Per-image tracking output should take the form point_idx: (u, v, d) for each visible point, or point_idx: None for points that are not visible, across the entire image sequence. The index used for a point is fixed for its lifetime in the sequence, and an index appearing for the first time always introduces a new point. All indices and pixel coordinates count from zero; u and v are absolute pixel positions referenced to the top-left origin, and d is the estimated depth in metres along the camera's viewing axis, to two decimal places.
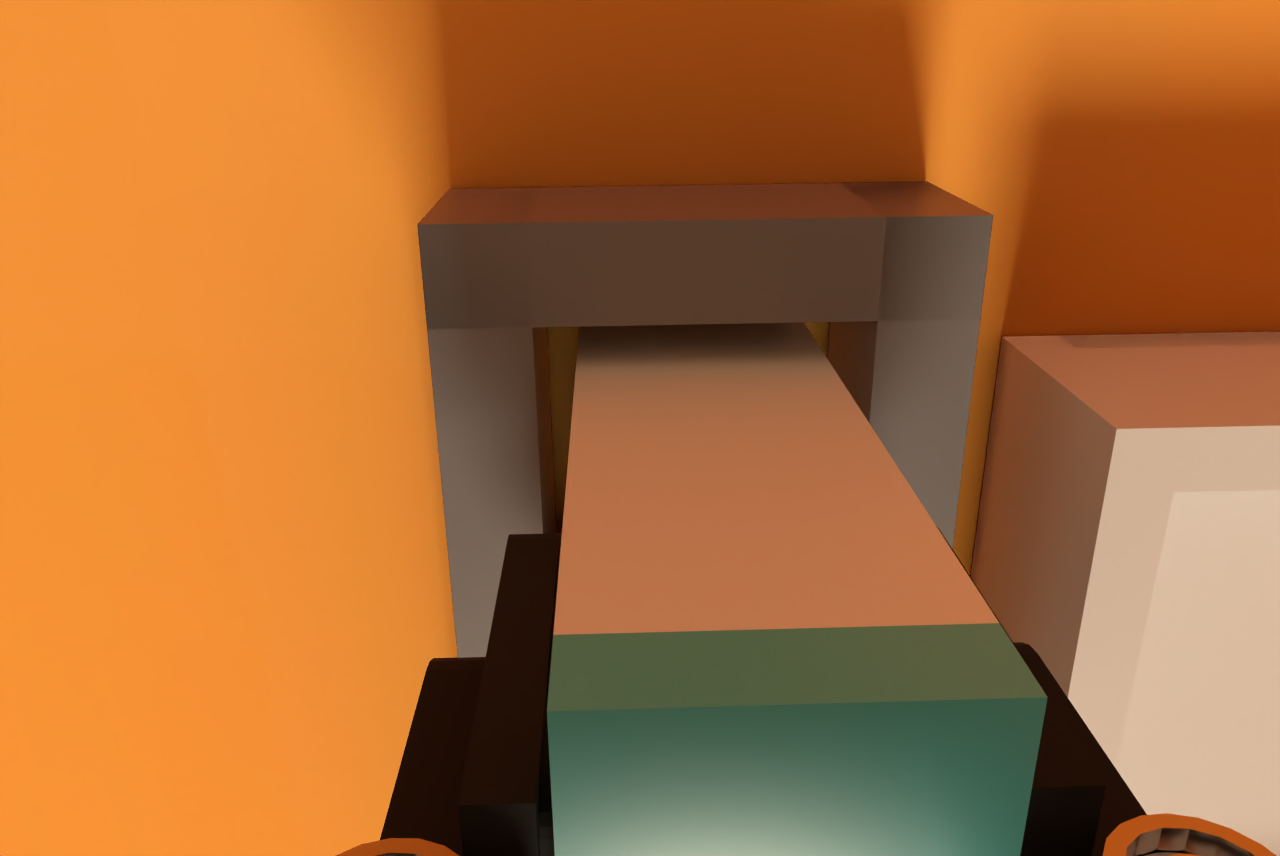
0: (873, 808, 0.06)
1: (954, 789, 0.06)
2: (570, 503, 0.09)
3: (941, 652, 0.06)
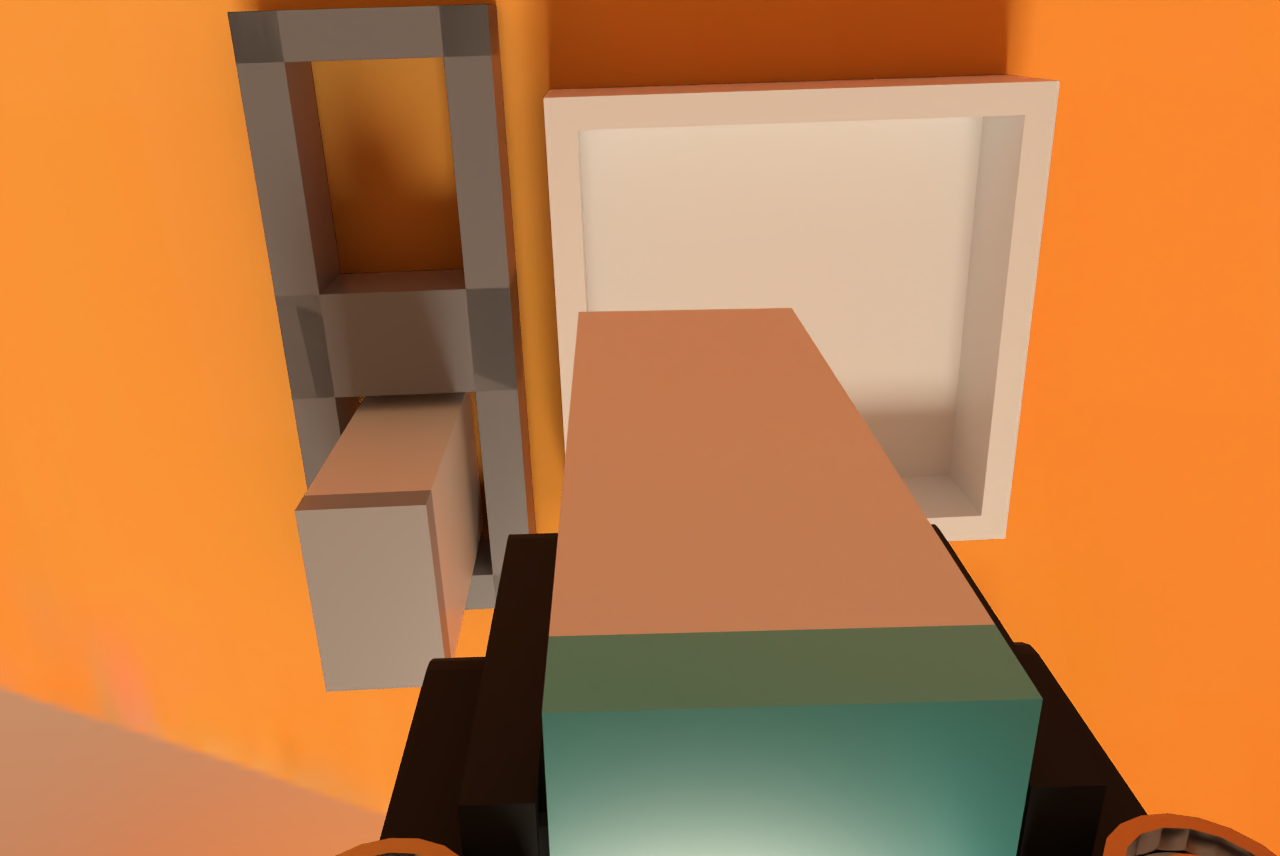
0: (869, 810, 0.06)
1: (950, 791, 0.06)
2: (567, 504, 0.09)
3: (937, 654, 0.06)
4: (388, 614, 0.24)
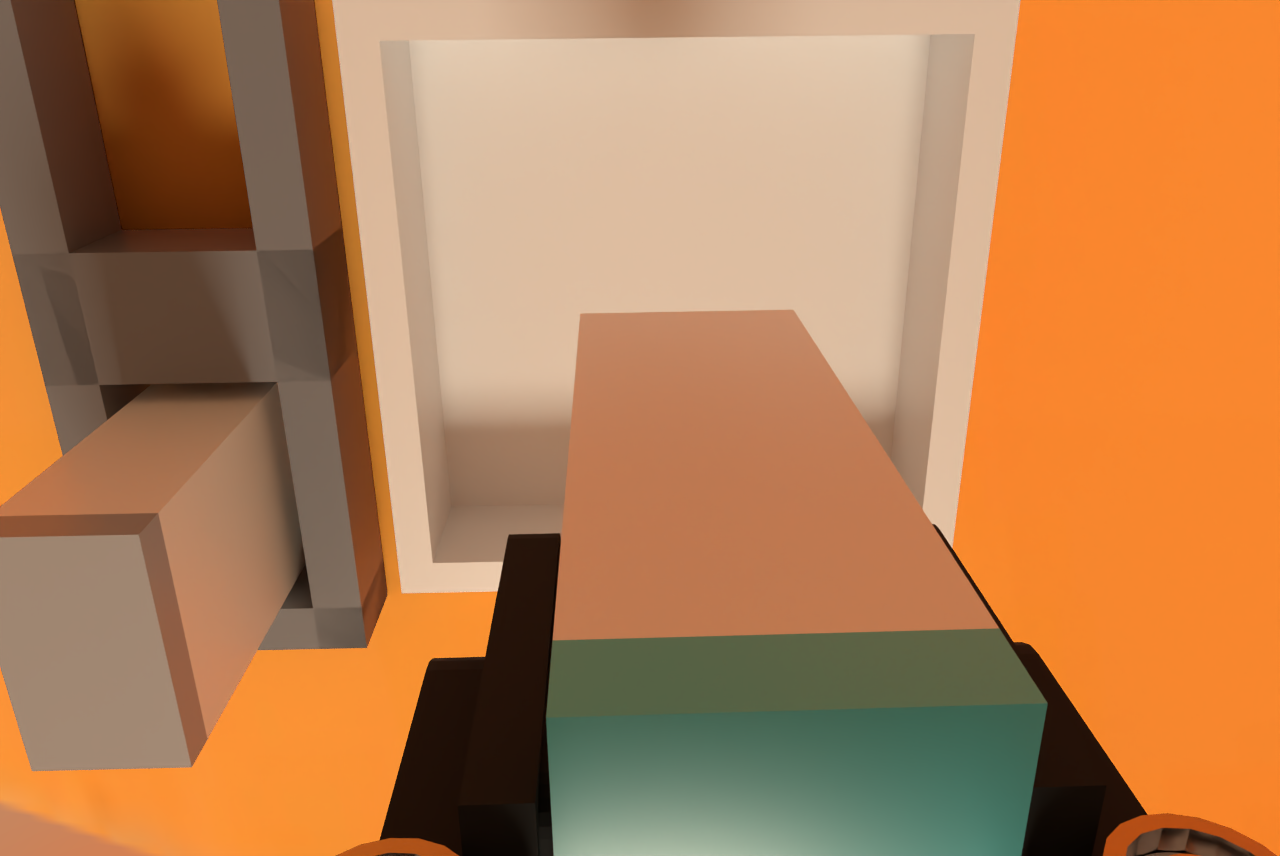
0: (873, 814, 0.06)
1: (954, 795, 0.06)
2: (570, 507, 0.08)
3: (941, 658, 0.06)
4: (103, 675, 0.18)
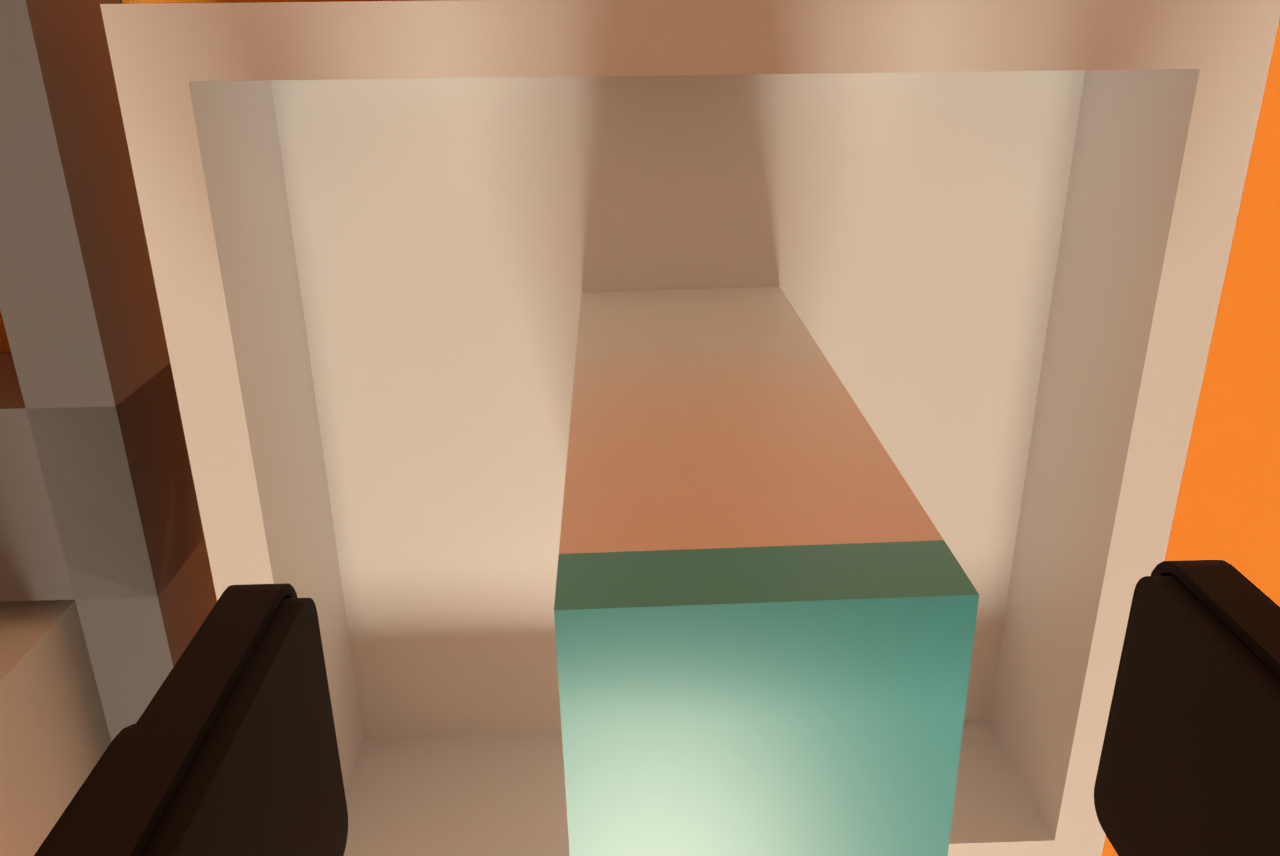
0: (834, 695, 0.07)
1: (902, 677, 0.07)
2: (572, 452, 0.10)
3: (891, 563, 0.08)
4: None
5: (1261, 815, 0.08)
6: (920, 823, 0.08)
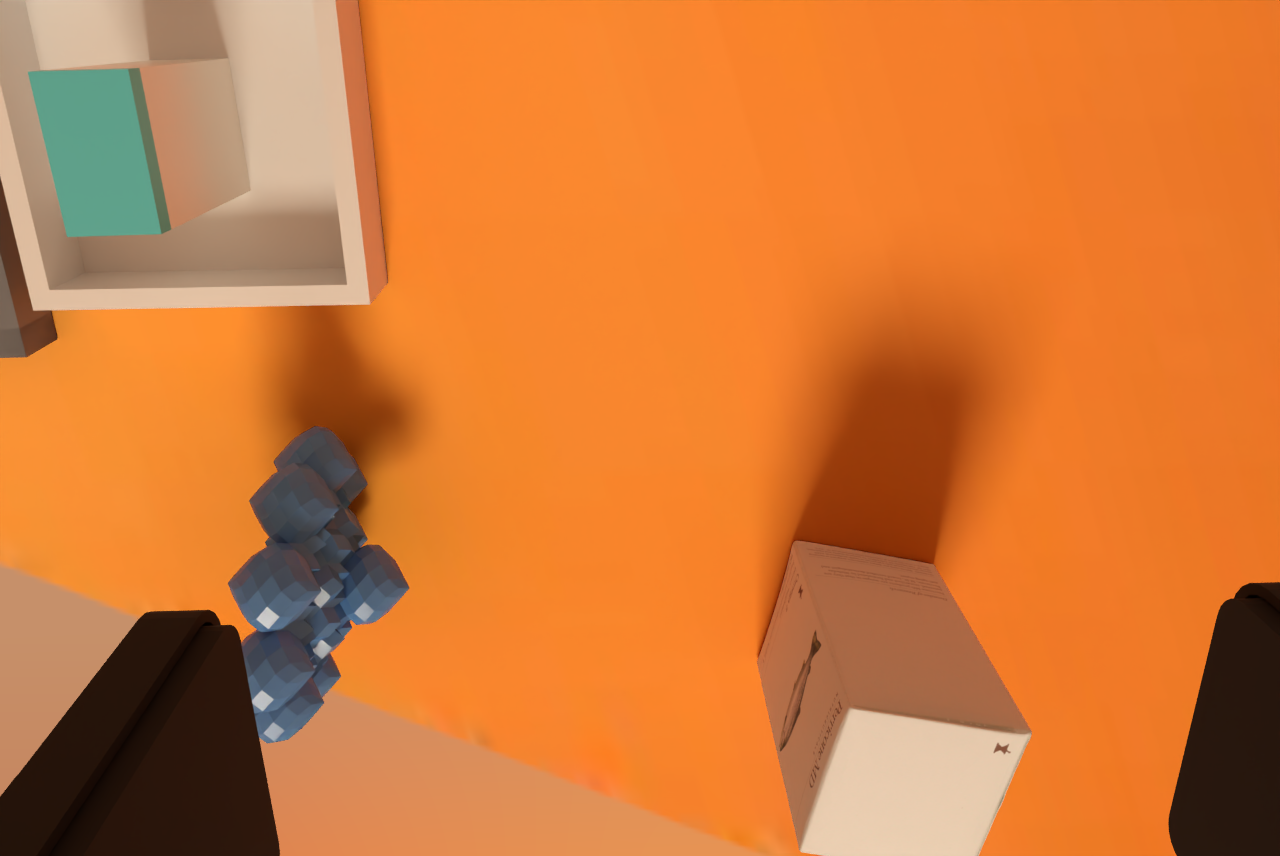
0: (101, 98, 0.31)
1: (116, 93, 0.31)
2: (73, 67, 0.33)
3: (118, 68, 0.31)
4: None
5: None
6: (134, 139, 0.31)
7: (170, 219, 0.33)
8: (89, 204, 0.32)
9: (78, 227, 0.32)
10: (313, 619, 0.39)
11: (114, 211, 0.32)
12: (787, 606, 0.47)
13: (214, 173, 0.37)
